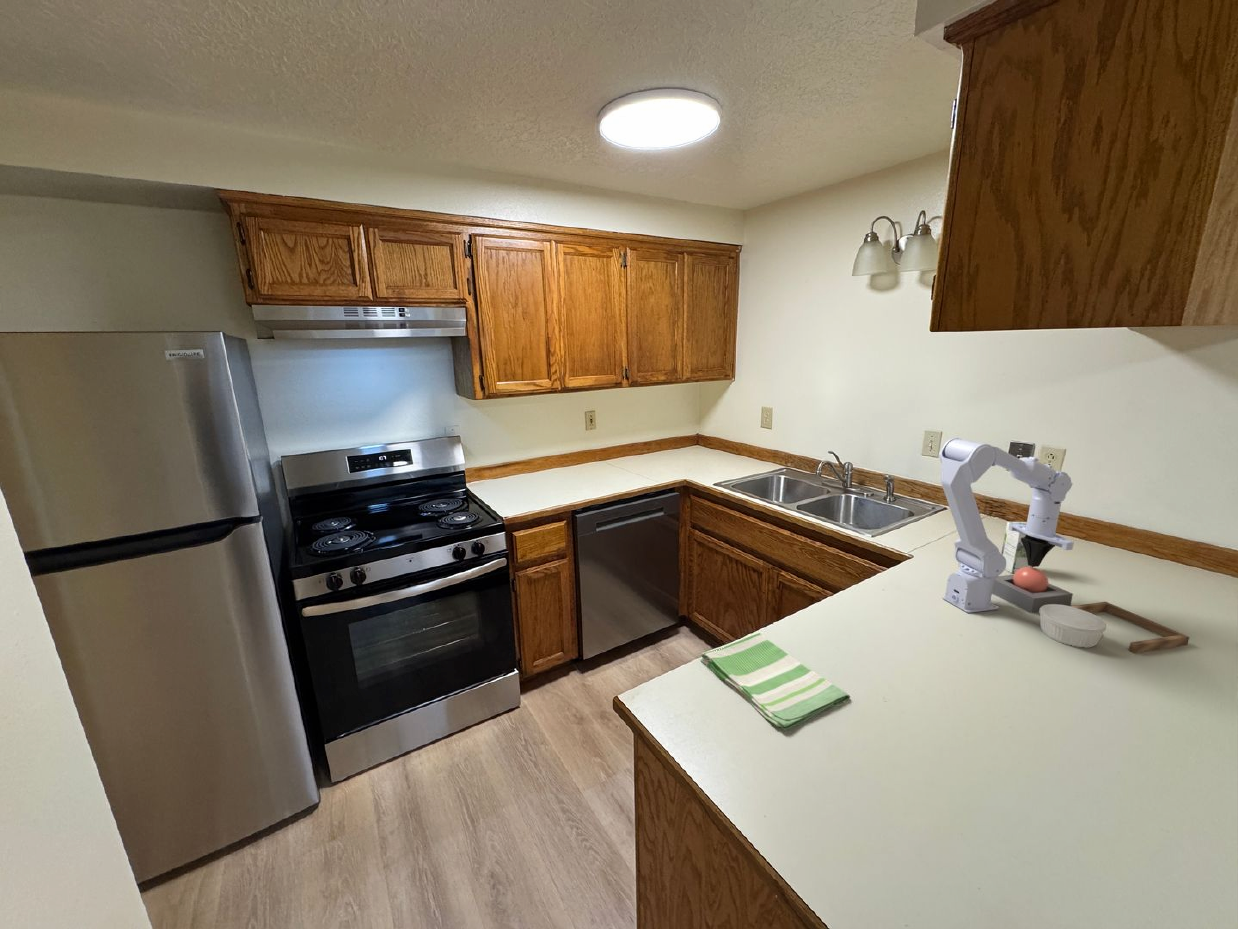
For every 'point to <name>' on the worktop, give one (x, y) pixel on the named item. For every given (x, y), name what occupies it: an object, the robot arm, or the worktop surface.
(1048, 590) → the base
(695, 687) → the worktop surface
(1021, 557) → the syrup box
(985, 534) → the robot arm
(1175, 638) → the bent wooden slat
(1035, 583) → the salmon pink ball
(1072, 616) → the ramekin
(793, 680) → the dish towel
